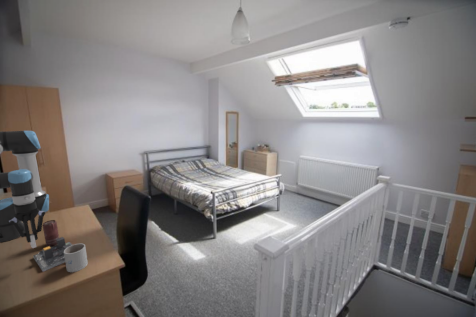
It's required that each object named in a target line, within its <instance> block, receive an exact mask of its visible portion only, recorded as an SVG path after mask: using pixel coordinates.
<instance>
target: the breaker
mask: <svg viewBox="0 0 476 317" xmlns="http://www.w3.org/2000/svg"><path fill="white" fill-rule="evenodd" d="M56 242H57V247H58V248H59V249H61V248H63V246H65V243H66V239H65V237H63V236H61V237H59V238H58V239H56Z"/></svg>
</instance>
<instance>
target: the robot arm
mask: <svg viewBox="0 0 476 317" xmlns="http://www.w3.org/2000/svg"><path fill="white" fill-rule="evenodd" d="M40 149H42V148H41V144H40V141H39V138H38V136H37V133H36V131H33V130H8V131H0V155H1V154H2V153H3V152H11V154H12V156H15V157H16V161H17V166H18V169H16V170H12V171H7V172H0V189H7V188H9V189H10V192H11V193H10V194H11V197H7V198H2V199H0V243H3V242H8V241H12V240H15V239H17V238H20V237H21V238H26V242H27V243H30V247H31V248H32V249H34V248H37V244H36V243H37V242H36V241H37V240H39V238H38V233H39V232H42V230H43V229H42V228H43V223H44V222H43V221H44V216H45V215H46V213H47V212H48V211H49V209H50V195H49V194H48V193H46V191H45V190H43V189H42V188H43V187H42V183H41V178H40V173H39V167H38V166H39V165H38V161H37V157H36V156H37V154H38V153H39V150H40ZM37 216H38V217H37ZM36 217H37V224H36V220H35V219H36ZM28 222H29V223H30V228H31V232H32V233H30V228H29V223H28Z"/></svg>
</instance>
